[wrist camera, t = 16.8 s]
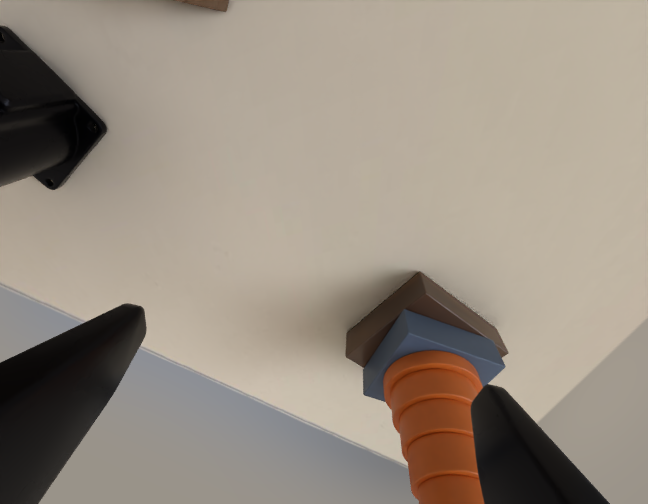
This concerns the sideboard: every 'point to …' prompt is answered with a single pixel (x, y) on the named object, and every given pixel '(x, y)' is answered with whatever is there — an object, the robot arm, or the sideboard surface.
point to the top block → (429, 349)
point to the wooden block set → (209, 3)
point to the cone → (436, 424)
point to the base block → (421, 300)
